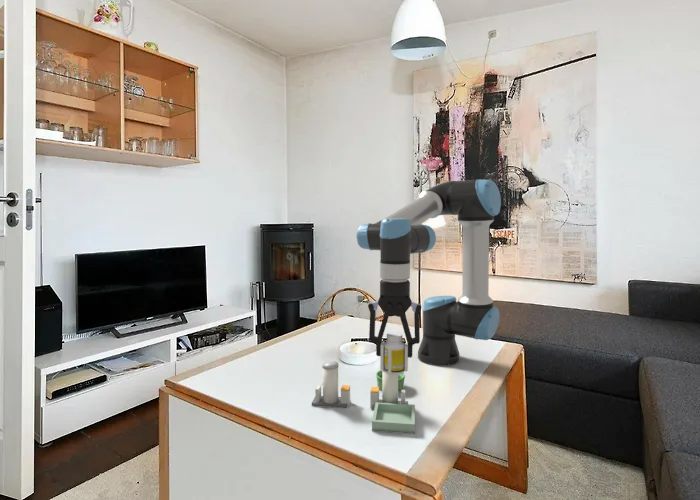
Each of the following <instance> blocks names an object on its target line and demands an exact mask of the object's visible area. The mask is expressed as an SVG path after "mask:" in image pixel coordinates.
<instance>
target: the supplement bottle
mask: <svg viewBox="0 0 700 500" xmlns="http://www.w3.org/2000/svg"><path fill="white" fill-rule="evenodd" d="M386 340H387V341H384V372H385V373H387V374H391V375H399V374H402V373H404V374H405V372H406V371H405V343H404V341H403V334H402V332H401V333H400V332H394V331H393V332H388V333H387V334H386Z"/></svg>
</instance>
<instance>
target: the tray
mask: <svg viewBox="0 0 700 500" xmlns="http://www.w3.org/2000/svg"><path fill="white" fill-rule="evenodd" d="M415 407H416V405H415V404H410V403H408V404H395V403H380V402H376V403H375V408H374V410H373V413H372V417H371V418H372V420H371V432H383V433H396V434H407V435H408V434H409V435H410V434H411V435H415V433H416V432H415V429H416V427H415V426H416V421H415V419H416V413H415V412H416V408H415Z"/></svg>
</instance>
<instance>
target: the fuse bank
mask: <svg viewBox="0 0 700 500" xmlns="http://www.w3.org/2000/svg"><path fill="white" fill-rule="evenodd" d="M321 367H322V385H321V384H317V385H316V388H315V389H314V390H315V393H314V394H315V396H314V398H313V399H312V402H311V406H312V407H326V408H338V409H339V408H341V409H347V407H349V406H350V403H351V385H350V384H349V385H348V384H347V385H346V384H342V385H341V388H340V396H339V362H338V361H335V360H326V361H324V362H322V364H321ZM400 392H401V393H400V397H401V398H400V400H399V392H398V375H391V374H387V373H385V372H384V369H383V370H382V391H381V393H382V395H381V397H382V399H380V390H379V387H378V386H371V388H370V404H369V405H370V409H371V411H374V408H375V403H376V402H380V403H395V404H409V401H408V400H406V389H402V390H401V391H400Z"/></svg>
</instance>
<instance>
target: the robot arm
mask: <svg viewBox="0 0 700 500" xmlns="http://www.w3.org/2000/svg"><path fill="white" fill-rule="evenodd" d="M501 206H502V198H501V193H500V190H499V187H498V186H497V184H496V183H495V182H494V181H493V180H491V179H469V180H466V179H465V180H449V181H445V182H441V183H440V184H436V185H434V186H432V187H430V188H428V189H426V190H425V191H422V192H421V193H420V194H419V195H418V197H417V199H414V200H413V201H412V202H410V203H408V204H406V205H404V206H403V207H401V208H400V209H398V210H396V211H395V212H394V211H393V213H390V214H389V215H387V216H386V217H384V218H383V219H381V220H379V221H376V222H375V223H363V224H361V225H360V226H359V227H358V229H357V232H356V241H357V242H356V243H357V244H358V246H359V247H360V248H361V249H364V250H370V251H380V261H379V278H380V279H381V280H380V281H379V298H378V300H376V301H369V303H368V305H367V309H368V310H369V331H368V332H369V333H368V336H369V337H368V340H369V342H372V343H375V346H376V347H375V348H376V349H375V352H376V356H377V357H380V368H379V369H380V370H383V369H384V344H385V341H382V340H383V336H384V334H385V333H384V332H385V330H386V327H387V324H388V321H389V320H388V319H389V317H394V316H395V317H398V318H399V319H400V321H401V325H402V328H403V332H404V335H405V339H406V342H405V343H404V344H405V371H404V372H408V369H409V358H413V346H414V345H415V344H419V347H418V350H417V359H418V360H419V361H421V362H422V363H424V364H428V365H433V366H451V365H455V364H458V363H459V362H460V360H461V359H460V357H461V356H460V351H459V347H458V344H457V342H456V336H459V337H465V338H470V339H474V340H481V341H488V340H491V339H492V338H493V337H494V335H495V333H496V332H497V329H498V326H499V323H500V314H501V313H500V311H499V310H500V309H499V308H498V307H496V306H494V300H493V298H491V297H490V294H489V279H490V277H489V276H490V275H489V271H490V269H489V268H490V264H489V263H490V260H489V259H490V225H491V224H492V223H493V222H494V221H495V216H498V215H499V214H500V212H501ZM444 215H445V216H457V222H458V223H459V224H460V225H461V226H462V269H461V270H462V279H461V280H462V285H461V286H462V290H461V291H462V293H461V295H460V296H459V297H458V299H457V297H456V296H454V295H436V296H431V297H428V298H426V299H424V300H423V306H422V304H421V302H418V303H416V302H413V301H412V299H411V293H410V292H411V282H410V280H409V279H410V278H411V255H412V254H420V253H421V254H423V253H425V252H428V251H431V250H432V249H433V247H434V246H435V244H436V241H437V237H436V232H435V229H433V228H432V227H431V226H430V225H427V224H423V223H425V222H426V221H427V220H429V219H435V218H438V217H440V216H444ZM378 306H379V307H380V308H381V311H382V312H383V313H384V314H383V317H382V321H381V324H380V328H379V332H378V334H377V335H376V315H377V313H376V312H377V310H378ZM410 308H411V310H412V311H413V312H414V314H413V317H414V318H413V319H414V322H413V323H414V337H412V334H411V331H410V330H411V329H410V327H409V322H408V319H407V315H406V312H407V311H408V310H409V309H410ZM421 310H422V339H420V338H421V337H420V314H421ZM380 370H379V371H380Z"/></svg>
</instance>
